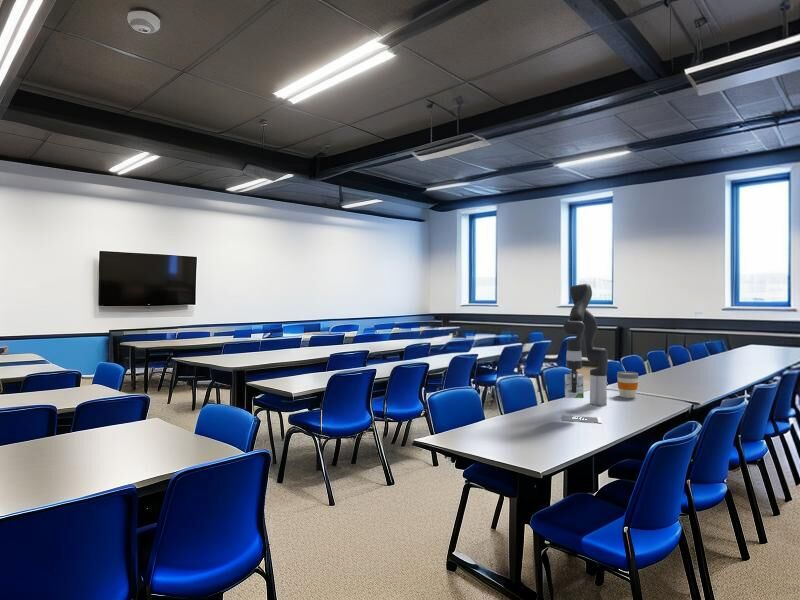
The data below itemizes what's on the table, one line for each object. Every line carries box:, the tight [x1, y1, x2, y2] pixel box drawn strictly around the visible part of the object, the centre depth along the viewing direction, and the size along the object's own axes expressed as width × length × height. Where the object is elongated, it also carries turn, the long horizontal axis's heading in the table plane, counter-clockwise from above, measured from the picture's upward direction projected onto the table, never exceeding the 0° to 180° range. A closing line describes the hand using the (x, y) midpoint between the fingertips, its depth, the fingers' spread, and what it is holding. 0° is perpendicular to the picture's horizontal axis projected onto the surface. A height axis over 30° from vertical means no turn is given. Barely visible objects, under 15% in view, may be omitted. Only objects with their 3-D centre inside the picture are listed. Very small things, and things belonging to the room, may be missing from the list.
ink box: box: [564, 373, 584, 399], centre depth 263 cm, size 9×5×12 cm, turn 84°
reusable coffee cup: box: [616, 370, 639, 399], centre depth 321 cm, size 12×13×15 cm
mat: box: [561, 414, 603, 424], centre depth 262 cm, size 11×19×1 cm, turn 72°
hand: (574, 391), depth 263 cm, fingers closed on ink box, 5 cm apart
